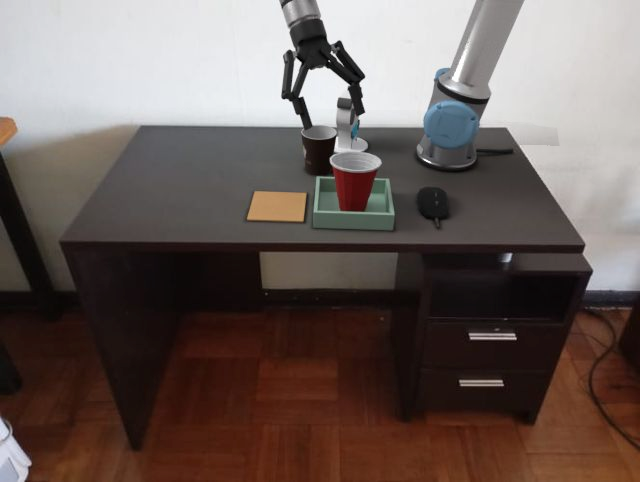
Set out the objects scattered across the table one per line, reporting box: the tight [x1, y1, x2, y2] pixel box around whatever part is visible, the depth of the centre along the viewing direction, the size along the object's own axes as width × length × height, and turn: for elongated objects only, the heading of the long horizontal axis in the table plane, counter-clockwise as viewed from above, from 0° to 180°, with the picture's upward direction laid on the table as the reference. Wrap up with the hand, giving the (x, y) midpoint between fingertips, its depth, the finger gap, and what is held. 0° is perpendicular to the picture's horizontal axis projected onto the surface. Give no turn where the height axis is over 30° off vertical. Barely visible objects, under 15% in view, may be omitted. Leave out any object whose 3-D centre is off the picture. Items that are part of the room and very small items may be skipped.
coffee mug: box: [300, 124, 338, 176], centre depth 125 cm, size 12×9×10 cm
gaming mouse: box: [417, 186, 449, 229], centre depth 110 cm, size 6×15×4 cm, turn 177°
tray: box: [312, 175, 396, 231], centre depth 110 cm, size 17×16×4 cm
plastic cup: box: [330, 151, 382, 212], centre depth 107 cm, size 11×11×12 cm
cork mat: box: [246, 190, 307, 224], centre depth 111 cm, size 12×12×1 cm
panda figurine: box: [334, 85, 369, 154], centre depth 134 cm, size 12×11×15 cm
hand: (335, 121), depth 109 cm, fingers open, 13 cm apart
